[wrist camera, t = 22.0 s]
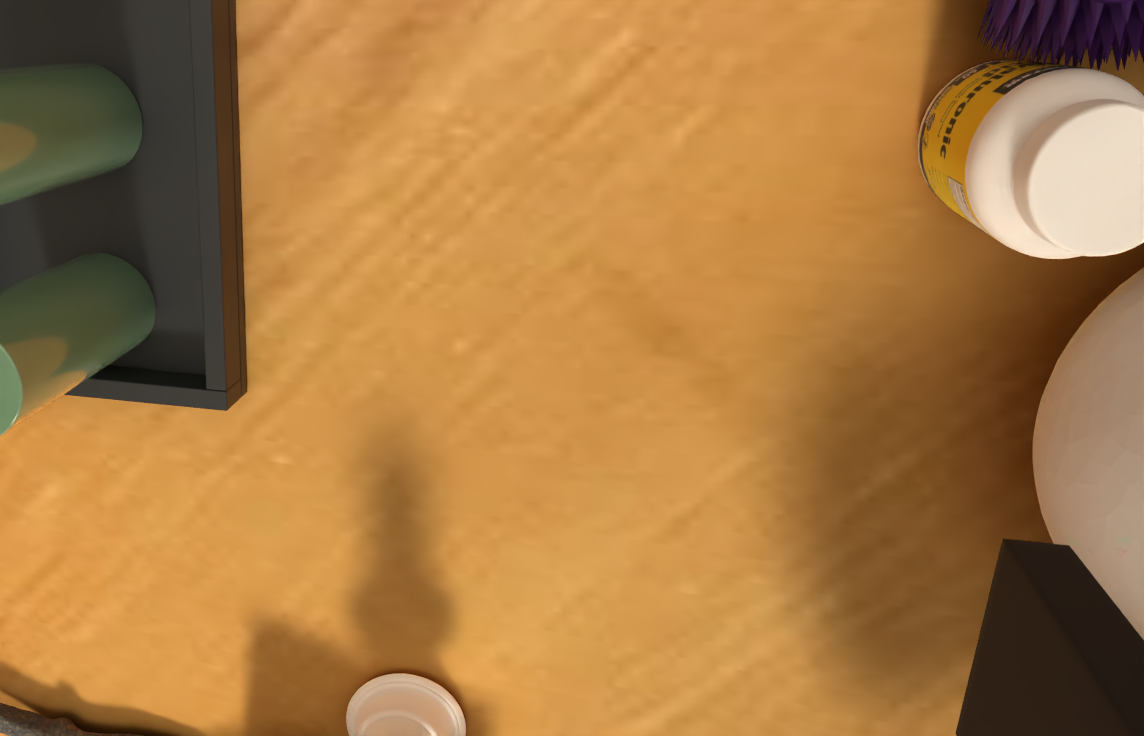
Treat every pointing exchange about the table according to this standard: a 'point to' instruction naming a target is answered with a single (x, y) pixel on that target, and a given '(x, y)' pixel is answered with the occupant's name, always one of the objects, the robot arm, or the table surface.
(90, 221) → the tray
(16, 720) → the artifact
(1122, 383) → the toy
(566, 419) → the table surface
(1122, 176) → the supplement bottle
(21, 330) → the loose bottle
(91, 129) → the tray bottle
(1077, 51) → the creature
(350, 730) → the candle
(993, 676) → the robot arm
